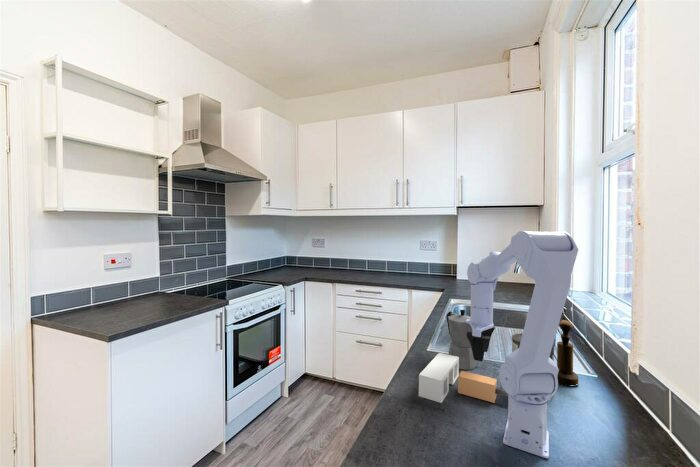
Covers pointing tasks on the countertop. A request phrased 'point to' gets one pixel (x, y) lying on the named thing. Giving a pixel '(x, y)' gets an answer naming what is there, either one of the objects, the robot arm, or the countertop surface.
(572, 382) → the wooden pepper mill
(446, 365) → the white rectangular block
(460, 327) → the coffeepot
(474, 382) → the plug
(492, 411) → the countertop surface
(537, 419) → the robot arm
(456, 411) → the countertop surface
